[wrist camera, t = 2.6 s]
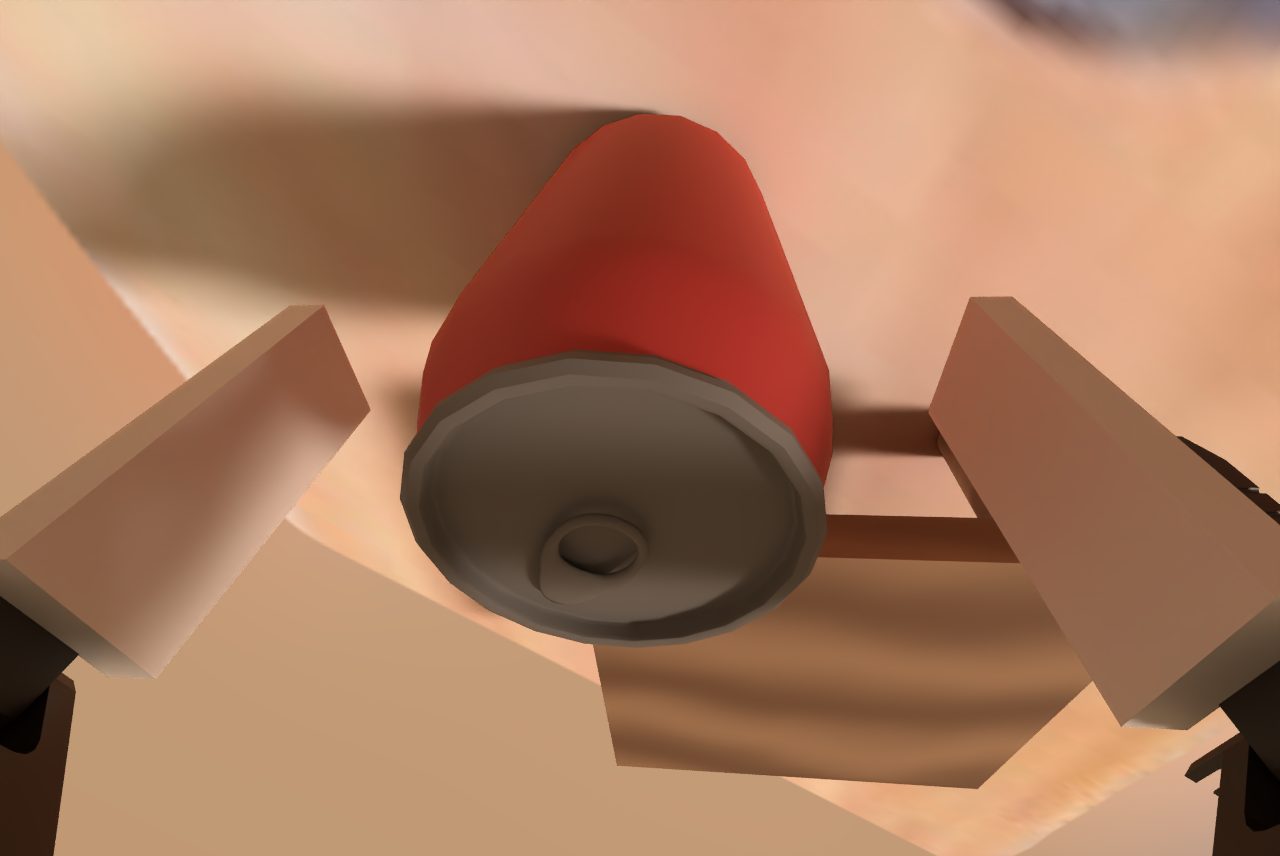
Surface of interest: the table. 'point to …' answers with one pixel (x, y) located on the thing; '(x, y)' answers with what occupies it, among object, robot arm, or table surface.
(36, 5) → the table surface
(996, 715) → the peg shelf
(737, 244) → the beer can
